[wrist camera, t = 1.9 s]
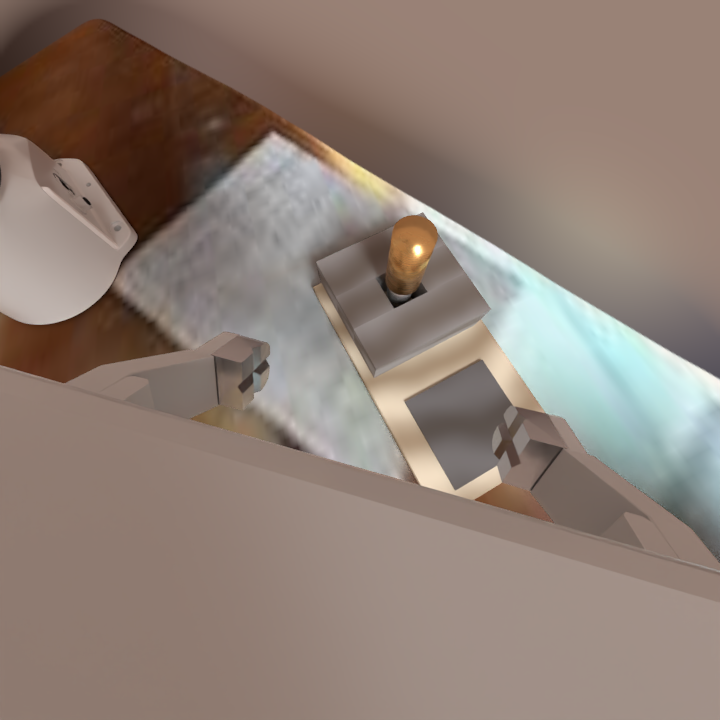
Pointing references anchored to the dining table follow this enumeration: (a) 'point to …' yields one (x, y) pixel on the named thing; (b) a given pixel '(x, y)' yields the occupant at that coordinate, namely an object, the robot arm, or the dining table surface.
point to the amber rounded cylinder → (408, 257)
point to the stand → (425, 362)
